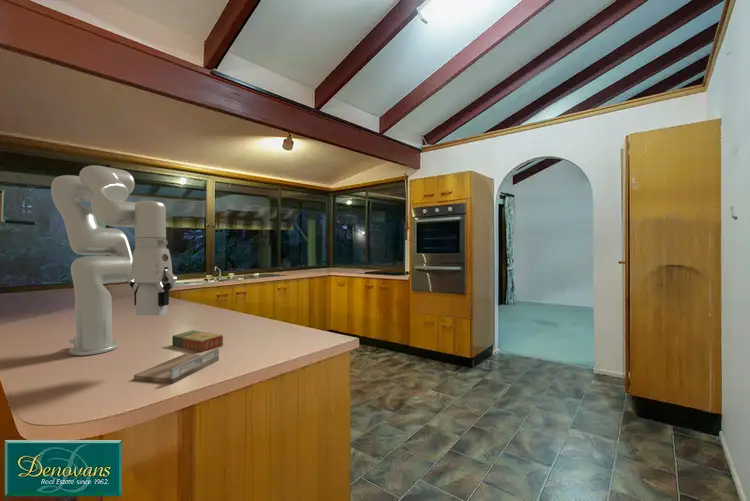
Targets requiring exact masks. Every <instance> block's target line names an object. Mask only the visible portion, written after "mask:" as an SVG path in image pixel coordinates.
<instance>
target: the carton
mask: <svg viewBox="0 0 750 501" xmlns="http://www.w3.org/2000/svg"><path fill="white" fill-rule="evenodd" d="M171 339H172V340H171V342H172V347H176V348H179V349H180V348H181V349H185V350H189V351H194V352H198V353H199V352H200V353H206V352H209V351H211V350H213V349H216V348H217V349H219V348H221V347H223V346H224V335H223V334H217V333H212V332H211V333H210V332H204V331H198V330H189V331H185V332H182V333H179V334H174V335H172V338H171Z"/></svg>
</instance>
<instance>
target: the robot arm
mask: <svg viewBox="0 0 750 501" xmlns="http://www.w3.org/2000/svg"><path fill="white" fill-rule="evenodd" d="M135 184H136V182H135V179H134V177H133V175H132V174H131V173H130V172H129V171H126V170H124V169H119V168H113V167H109V166H108V167H107V166H102V165H88V166H85V167H83V168H82V169H81V170H80V171H79V175H70V174H67V175H66V174H65V175H59V176H56V177H55V178H54V179H53V180H52V182H51V186H50V190H51V192H50V194H51V195H50V196H51V199H52V201H53V204H54V206H55V208H56V209H57V211H58V212H59V214H60V216H61V217H62V220H63V223H64V226H65V231H66V235H67V238H68V242H69V246H70V248H71V250H72V251H73V253H75V254H77V255H81V257H78V258H77V259H75V260H73V261H72V263H71V266H70V274H71V275H70V276H71V279H72V283H73V290H74V312H75V313H74V315H75V316H74V317H75V320H74V321H75V324H74V326H75V327H74V328H75V329H74V330H75V332H74V333H75V336H74V337H73V338H71V339H69V340H68V343H69V344H73V347H72V348H70V349H69V350H68V351H69V352H68V354H69V355H71V356H90V355H91V356H92V355H97V354H103V353H107V352H110V351H112V350H115V349H117V348H118V347H119V343H118V342H117V341H113V298H112V294H111V292H110V291H109V290H108V289H107V288H106V287H105V286H104V284H114V283H125V282H128V284H129V286H130V287H131V290H132V292H133V294H134V295H133V298H134V300H133V301H134V306H136V293H137V290H138V287H139V284H140V283H149V284H157V286H158V288H159V290H160V292H158V306H165V305H168V306H169V304H170V296H169V295H170V291H171V290H172V288H173V287H174V285H175V283H176V282H177V280H178V277H177V276H176V275H175V274H173V266H172V265H173V264H172V258H171V254H170V249H169V248H167V245H168V244H169V242H168V240H167V221H166V220H167V214H166V212H167V210H166V208H167V207H166V205H165V204H164V203H163V202H161V201H156V200H140V201H137V202H135V201H127V200H128V198H129V195H131V193H133V191H134V188H135ZM82 202H83V203H84V202H85V203H90V208H91V209H90V208H88V207H87V205H85V204H83V203H82ZM97 219H98V220H99V221H100V222H101V223H102V224H104V225H107V226H108V227H107V228H106V227H101V226H100V225H98V221H97ZM117 227H118V228H119V227H120V228H121V227H122V228H134V249H133V252H132V249H131V246H130V242H129V238H128V237H127V235H126V233H125V232H124V231H122V230H121V229H118V228H117ZM82 255H83V256H82ZM162 280H163V281H162ZM162 284H163V285H164V287H163V285H162Z"/></svg>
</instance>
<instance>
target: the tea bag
mask: <svg viewBox="0 0 750 501" xmlns="http://www.w3.org/2000/svg"><path fill="white" fill-rule="evenodd" d="M162 281H163V280H162ZM162 285H163V284H162ZM163 287H164V285H163ZM158 292H160V290H159V288H158V286H157V284H149V283H140V284H139V287H138V290H137V293H136V305H135V306H136V307H135V308H136V309H135V311H136V313H135V314H136V316H162V315H166V314H168V313H169V305H165V306H158Z"/></svg>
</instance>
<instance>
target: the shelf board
mask: <svg viewBox="0 0 750 501" xmlns="http://www.w3.org/2000/svg"><path fill="white" fill-rule="evenodd" d="M219 355H220V349H219V348H215V349H211V350H208V351H206V352H204V353H203V354H195V353H194V354H193V353H183V354H181V355H178V356H176V357H173V358H172V359H169V360H167V361H164V362H162V363H159V364H157V365H155V366H153V367H150V368H147V369H145V370H143V371H140V372H138V373H136V374H133V380H135V381H143V382H155V383H162V382H163V384H175V383H177V382H180V380H183V379H184V378H186V377H188V376H191V375H193V374H196V373H197V372H199V371H200V370H203V369H204V368H206V367H208V366H210V365H213V364H214V363H216V362H218V361H219V360H220V359H219V358H220V356H219Z"/></svg>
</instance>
